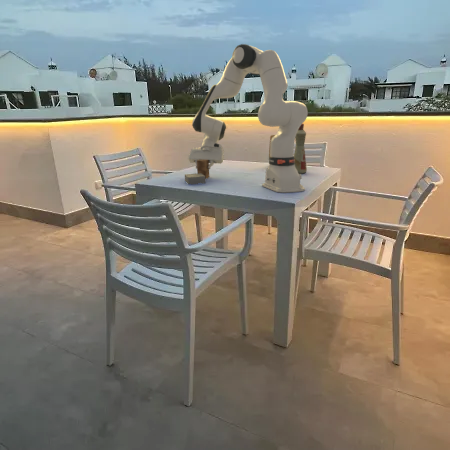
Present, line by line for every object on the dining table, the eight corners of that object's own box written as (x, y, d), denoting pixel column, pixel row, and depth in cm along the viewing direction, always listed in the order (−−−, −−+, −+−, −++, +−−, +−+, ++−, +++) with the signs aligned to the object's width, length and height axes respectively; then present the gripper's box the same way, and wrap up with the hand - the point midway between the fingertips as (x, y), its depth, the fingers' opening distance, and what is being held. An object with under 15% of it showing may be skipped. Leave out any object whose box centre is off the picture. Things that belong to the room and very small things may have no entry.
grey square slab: (205, 183, 171) (205, 176, 170) (188, 185, 169) (188, 177, 168) (201, 180, 180) (201, 173, 178) (185, 181, 177) (184, 174, 176)
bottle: (290, 171, 198) (292, 122, 189) (306, 171, 197) (309, 122, 187) (290, 173, 190) (293, 123, 181) (306, 174, 189) (310, 123, 179)
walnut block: (209, 177, 186) (208, 159, 183) (206, 178, 182) (205, 160, 178) (201, 176, 188) (200, 159, 184) (197, 178, 183) (196, 160, 180)
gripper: (190, 144, 188) (183, 164, 183) (223, 144, 182) (218, 165, 176) (193, 151, 194) (187, 170, 188) (226, 152, 187) (221, 172, 182)
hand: (202, 168), depth 182 cm, fingers open, 5 cm apart
